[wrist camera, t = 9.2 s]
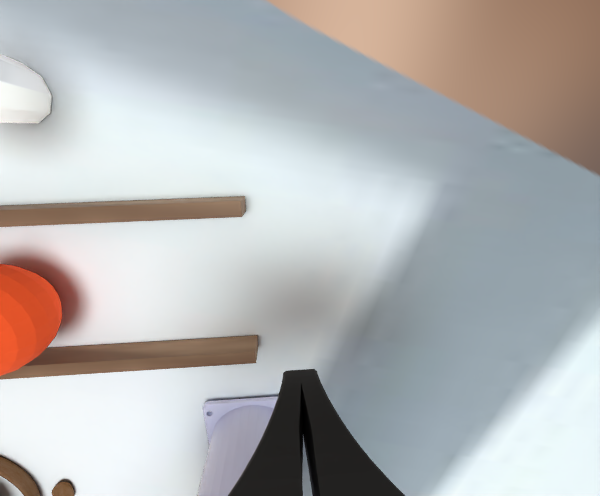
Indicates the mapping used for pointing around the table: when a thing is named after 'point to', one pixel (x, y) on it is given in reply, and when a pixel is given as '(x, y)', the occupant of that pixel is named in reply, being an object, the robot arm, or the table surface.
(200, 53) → the table surface
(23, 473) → the place setting
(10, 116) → the milkshake
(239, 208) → the lane rails
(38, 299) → the clementine
